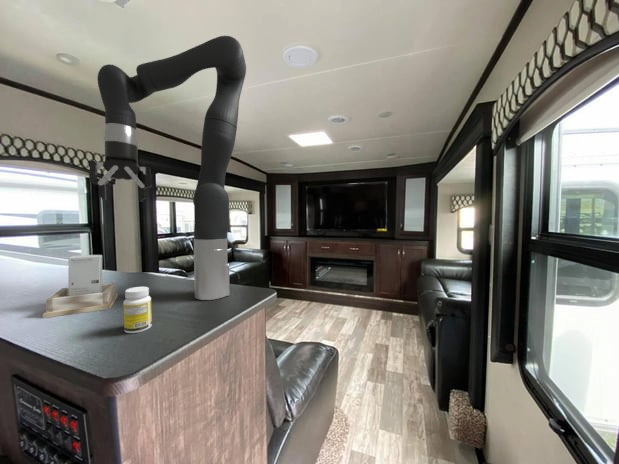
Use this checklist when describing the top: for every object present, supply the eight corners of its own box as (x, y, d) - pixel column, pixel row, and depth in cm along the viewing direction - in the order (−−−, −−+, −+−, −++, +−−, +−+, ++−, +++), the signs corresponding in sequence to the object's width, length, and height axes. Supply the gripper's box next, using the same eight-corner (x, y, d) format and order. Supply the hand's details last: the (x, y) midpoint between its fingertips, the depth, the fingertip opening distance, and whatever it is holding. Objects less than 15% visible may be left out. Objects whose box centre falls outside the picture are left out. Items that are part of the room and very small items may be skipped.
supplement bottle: (135, 323, 53) (134, 285, 53) (156, 324, 53) (156, 286, 53) (117, 333, 49) (116, 292, 48) (141, 334, 48) (140, 292, 48)
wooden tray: (117, 295, 72) (117, 282, 72) (110, 308, 62) (109, 293, 62) (61, 302, 66) (60, 288, 66) (42, 318, 56) (42, 300, 55)
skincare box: (68, 306, 60) (66, 257, 60) (73, 301, 64) (71, 255, 64) (100, 302, 64) (99, 256, 63) (103, 297, 67) (102, 253, 67)
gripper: (151, 150, 77) (152, 202, 78) (92, 142, 70) (93, 200, 70) (150, 144, 71) (151, 201, 71) (85, 135, 63) (87, 198, 64)
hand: (123, 200), depth 71 cm, fingers open, 8 cm apart
